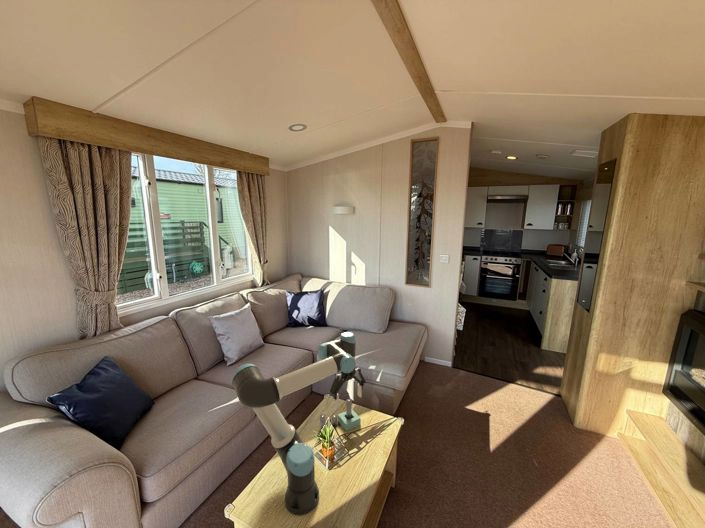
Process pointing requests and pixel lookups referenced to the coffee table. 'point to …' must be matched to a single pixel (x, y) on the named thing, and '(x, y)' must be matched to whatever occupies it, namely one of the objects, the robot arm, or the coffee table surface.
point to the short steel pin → (334, 419)
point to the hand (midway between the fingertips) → (348, 400)
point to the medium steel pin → (322, 421)
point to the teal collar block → (351, 422)
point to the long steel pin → (348, 409)
